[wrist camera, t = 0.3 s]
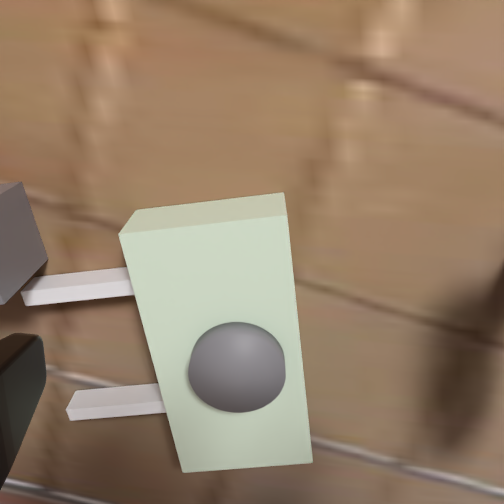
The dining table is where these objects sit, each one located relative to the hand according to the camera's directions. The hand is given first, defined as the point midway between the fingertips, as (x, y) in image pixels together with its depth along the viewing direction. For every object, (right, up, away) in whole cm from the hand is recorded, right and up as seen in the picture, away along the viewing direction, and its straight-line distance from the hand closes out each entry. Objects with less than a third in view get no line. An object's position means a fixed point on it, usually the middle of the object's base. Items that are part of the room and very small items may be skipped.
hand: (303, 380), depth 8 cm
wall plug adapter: (-5, -2, +17) cm, 18 cm away
